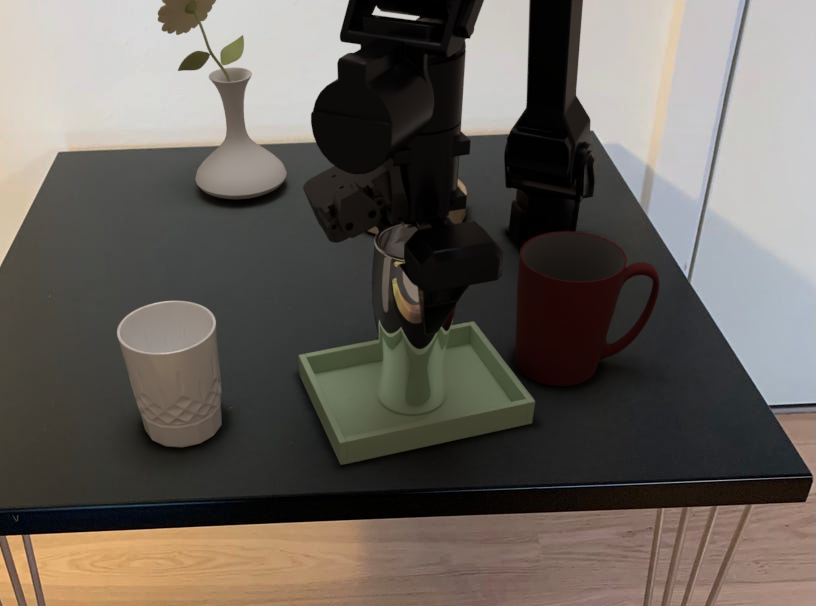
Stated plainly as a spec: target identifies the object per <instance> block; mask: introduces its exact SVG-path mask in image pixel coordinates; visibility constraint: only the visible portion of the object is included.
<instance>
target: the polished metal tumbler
mask: <svg viewBox="0 0 816 606" xmlns="http://www.w3.org/2000/svg"><path fill="white" fill-rule="evenodd" d="M416 231H417V228H416V227H412V228H405V227H404V226H403V225H402V224H401V223H396V224H392V225H390V226H387V227H385V228H383V229H382V230H381V231H379V232H378V233H377V234H375V236H374V238H373V239H374V240H373V243H374V246H373V258H372V267H371V268H372V269H371V301H372V302H371V303H372V310H373V317H374V322H375V328H376V332H377V337H378V340H379V342H380V348H381V354H382V369H381V375H380V379H379V384H378V389H377V395H378V398H379V401H380V402H381V403H382V404H383V405H384V406H385V407H386V408H388V409H390V410H391V411H394V412H397V413H400V414H406V415H418V414H424V413H428V412H430V411H433V410H435V409H436V408H438V407H439V406H440V405H441V404H442V403H443V401H444V399H445V397H446V387H445V381H444V375H443V359H444V353H445V349H446V345H447V341H448V337H449V334H450V330H451V326H452V325H453V322H454V318H455V313H456V308H457V304H456V305H455V307H454V308H453V310H452V311H451V313H450V314H449V316H448V317H447V319H446V320H445V322H444V324H443V325H442V327H441V328H440V330H439V331H438V332H437V333H434V334H429V335H426V334H425V333H424V331H423V325H422V319H421V312H420V304H419V296H418V288H417V286H415V285H414V284H412V283H411V282H410V280H409V279H408V277H407V276H406V275H405V273H404V272H403V270H402V269H401V268H400V266H399V264H403V263H405V260H404V244H405V243H406V242H407V241H408V240H409V239H410V237H411V236H412V235H413V234H414V233H415V232H416Z"/></svg>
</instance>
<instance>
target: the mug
mask: <svg viewBox="0 0 816 606" xmlns="http://www.w3.org/2000/svg"><path fill="white" fill-rule="evenodd" d="M518 258H519V259H518V260H519V261H518V269H517V284H516V312H515V315H516V318H515V352H514V353H515V358H514V359H515V365H516V367H517V369H518V370H519V372H520V373H521V374H522V375H524V376H525V377H527V378H528V379H530V380H532V381H534V382H536V383H540V384H542V385H543V384H544V385H547V386H554V387H569V386H575V385H579V384H582V383H584V382H586V381H588V380H590V379H591V378H592V377H593V376H594V374H595V373H596V371H597V369H598V365H599V362H600V361H602V360H605V359H607V358H610V357H612V356H615V355H617V354H619V353H620V352H622V351H623V350H625V349H626V348H627V347H628V346H629V345H630V344H632V343H633V342H634V340H636V338H638V336H639V335H640V334H641V332H642V331H643V329H644V327H645V326H646V325H647V323H648V321H649V319H650V317H651V315H652V313H653V311H654V308H655V306H656V303H657V300H658V296H659V291H660V276H659V273H658V271H657V269H656V268H655V266H654V265H653V264H651V263H649V262H645V261H641V262H634V263H632V264H630V265H628V266H627V263H628V258H627V255H626V253H625V251H624V250H623V249H622V248H621V246H619V245H618V244H617V243H615V242H613V241H611V240H609V239H608V238H605V237H602V236H600V235H597V234H592V233H588V232H582V231H576V232H572V231H561V232H551V233H545V234H542V235H538V236H536V237H534V238H532V239H530V240H528V241H527V242H526V243H525V244H524V245H523V246H522V248H520V250H519V257H518ZM637 276H646V277H647V278H650V279H651V280H652V286H651V291H650V294H649V296H648V299H647V302H646V305H645V306H644V308H643V311H642V313H641V314H640V316H639V318H638V319H637V321H636V322H635V323H634V325H633V326H632V327H631V328H630V329H629V330H628V331H627V332H626V333H625V334H624V335H623V336H621V337H620V338H619V339H617V340H616V341H614V342H611V343H608V342H607V336H608V332H609V329H610V326H611V323H612V320H613V316H614V313H615V310H616V307H617V302H618V300H619V296H620V294H621V290H622V288H623V287H624V285H625V284H626V282H627V281H628V280H630V279H631V278H633V277H637Z"/></svg>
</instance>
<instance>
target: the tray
mask: <svg viewBox="0 0 816 606" xmlns="http://www.w3.org/2000/svg"><path fill="white" fill-rule="evenodd" d="M298 368H299V377H300V379H301V381H302V384H303V386H304V388H305V390H306V393H307V395H308V397H309V399H310V401H311V404H312V406H313V408H314V410H315V412H316V414H317V416H318V419H319V421H320V423H321V425H322V427H323V430H324V432H325V434H326V436H327V439H328V441H329V443H330V445H331V447H332V450H333V452H334V454H335V457H336V458H337V460H338V463H339V465H340V466H343V465H348V464H353V463H356V462H357V463H358V462H361V461H367V460H370V459H371V460H372V459H375V458H380V457H385V456H389V455H393V454H399V453H403V452H409V451H412V450H417V449H421V448H426V447H430V446H435V445H439V444H444V443H449V442H452V441H457V440H463V439H467V438H472V437H477V436H480V435H486V434H490V433H494V432H495V433H496V432H499V431H504V430H508V429H512V428H518V427H522V426H528V425H531V424H533V419H534V415H535V414H534V412H535V406H536V400H535V399H534V397H533V396H532V395H531V394H530V392H529V391H528V390H527V388H526V387H525V386H524V385H523V384H522V382H521V381H520V379H519V378H518V376H517V375H516V374H515V373H514V371H513V370H512V369H511V368H510V366H509V365H508V364H507V362H506V361H505V360H504V359H503V357H502V355H500V353H499V352H498V351H497V349H496V348H495V346H494V345H493V343H491V341H490V340H489V339H488V337H487V336H486V335H485V333H484V332H483V331H482V330H481V329H480V327H479V326H478V324H477V323H476V322H475V321H474V320H473V321H468V322H462V323H457V324H452V326H451V330H450V334H449V337H448V341H447V345H446V349H445V353H444V359H443V375H444V381H445V387H446V397H445V399H444V401H443V403H442V404H441V405H440V406H439V407H438V408H436V409H435V410H433V411H430V412H428V413H424V414H418V415H406V414H400V413H397V412H394V411H391V410H390V409H388V408H386V407H385V406H384V405H383V404H382V403H381V402H380V401H379V398H378V395H377V389H378V384H379V379H380V375H381V369H382V354H381V348H380V342H379V339H374V340H369V341H364V342H358V343H352V344H349V345H348V344H347V345H342V346H337V347H333V348H327V349H322V350H316V351H313V352H307V353H302V354H298Z"/></svg>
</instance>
